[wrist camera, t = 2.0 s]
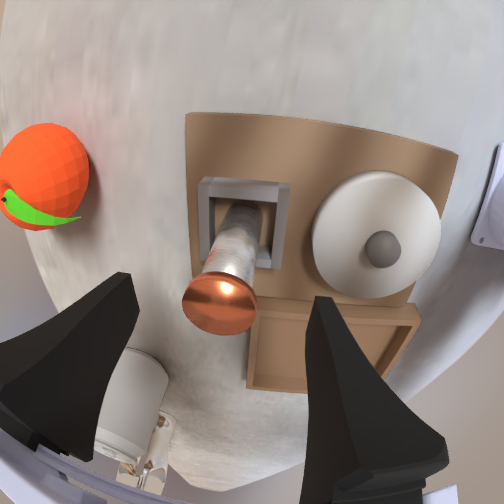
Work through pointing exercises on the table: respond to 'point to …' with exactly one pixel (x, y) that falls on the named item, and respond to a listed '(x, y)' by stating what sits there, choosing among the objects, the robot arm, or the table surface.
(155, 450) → the beer glass
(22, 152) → the clementine
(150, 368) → the can
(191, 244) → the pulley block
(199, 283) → the lock pin
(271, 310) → the tray
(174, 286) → the table surface
